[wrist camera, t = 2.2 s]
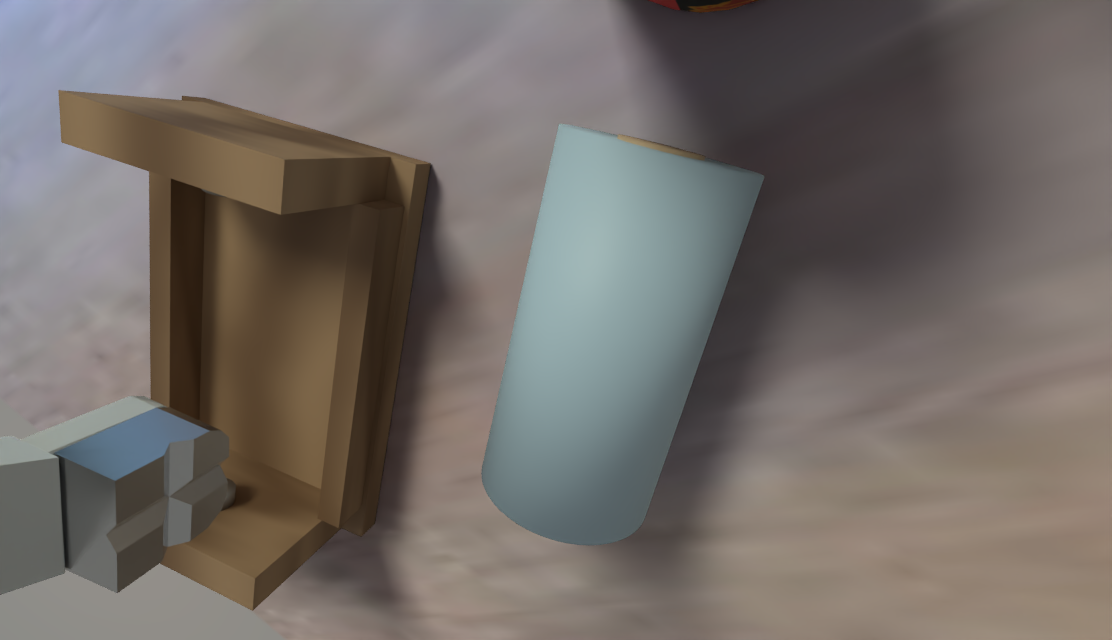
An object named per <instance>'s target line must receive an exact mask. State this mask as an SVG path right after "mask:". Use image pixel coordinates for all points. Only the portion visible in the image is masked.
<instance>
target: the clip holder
mask: <svg viewBox="0 0 1112 640" xmlns="http://www.w3.org/2000/svg"><path fill="white" fill-rule="evenodd" d="M59 106H60V124H61V142H62V143H65V144H68V145H71V146H74V147H77V148H80V149H84V150H87V151H90V152H93V153H96V154H99V155H102V156H105V157H108V158H111V159H114V160H117V161H120V162H123V163H126V164H129V165H132V166H135V167H138V168H141V169H144V170H147V171H149V211H150V360H151V400H153V401H156V402H158V403H160V404H162V405H164V406H166V407H171V408H173V409H175V410H177V411H179V412H182V413H184V414H186V415H188V416H191V417H193V418H195V419H197V420H199V421H202V422H204V423H206V424H208V425H211V426H213V427H215V428H217V429H219V430H221V431H222V432H224V433H225V434H226V435H227V436H228V437H229V457H228V458H227V459H226V460H225V461H224V462H223V463H222V464H221V465H220V466H221V468H222V470H223V473H224V475H225V477H226V479H227V481H228V484H227V496H226V498H225V501H224V504H223V507H222V509H221V511H220V513H219V514H218V515H217V516H216V518H215V519H214V520H213V522H212V523H211V524H210V526H209V527H208V528H207V529H206V530H204V531H203V532H202V533H200V534H199V535H198V536H196V537H195V538H194V539H192V540H191V541H189V542H185V543H181V544H177V545H173V546H169V547H167V550H166V553H165V556H164V558H163V561H162V562H161V563H160V564H162V565H164V566H166V567H168V568H170V569H172V570H174V571H176V572H178V573H180V574H182V575H184V576H186V577H188V578H190V579H192V580H194V581H196V582H197V583H199V584H201V585H203V586H205V587H207V588H209V589H211V590H213V591H215V592H217V593H219V594H221V595H223V596H225V597H227V598H229V599H231V600H233V601H235V602H237V603H239V604H240V605H242V606H245V607H246V608H248V609H250V610H252V611H253V610H254V609H255V608H256V607H257V606H258V605H259V604H260V603H261V602H262V601H263V600H265V599H266V598H267V597H268V596H269V595H270V594H271V593H272V592H273V591H274V590H275V589H276V588H277V587H279V586H280V585H281V584H282V583H283V582H284V581H285V580H286V579H287V578H288V577H289V576H290V575H291V574H293V573H294V572H295V571H296V570H297V569H298V568H299V567H300V566H301V565H302V564H303V563H304V562H305V561H307V560H308V559H309V558H310V557H311V556H312V555H313V554H314V553H315V552H316V551H317V550H318V549H319V548H320V547H322V546H323V545H324V544H325V543H326V542H327V541H328V540H329V539H330V538H331V537H332V536H333V535H334V534H336V533H337V532H338V531H339V530H340V529H341V528H343V529H345V530H347V531H349V532H351V533H354V534H356V535H358V536H360V537H362V536H363V535H364V534H365V533H366V532H367V531H368V530H369V529H370V528H371V527H372V526H373V525H374V524H375V519H376V512H377V506H378V499H379V493H380V486H381V480H382V474H383V467H384V461H385V454H386V448H387V441H388V435H389V429H390V422H391V416H392V409H393V403H394V396H395V390H396V383H397V377H398V371H399V364H400V358H401V351H402V345H403V338H404V332H405V326H406V319H407V313H408V306H409V300H410V293H411V287H412V281H413V274H414V268H415V261H416V255H417V248H418V242H419V236H420V229H421V223H422V216H423V210H424V203H425V197H426V191H427V184H428V178H429V171H430V165H431V163H427V162H424V161H420V160H417V159H413V158H410V157H406V156H403V155H400V154H396V153H393V152H389V151H386V150H382V149H379V148H375V147H372V146H368V145H365V144H362V143H358V142H355V141H351V140H348V139H344V138H341V137H337V136H334V135H331V134H327V133H324V132H320V131H317V130H313V129H310V128H306V127H303V126H299V125H296V124H293V123H289V122H286V121H282V120H279V119H275V118H272V117H268V116H265V115H262V114H258V113H255V112H251V111H248V110H244V109H241V108H237V107H234V106H230V105H227V104H224V103H220V102H217V101H213V100H210V99H206V98H199V97H188V96H182V100H171V99H159V98H147V97H134V96H122V95H110V94H98V93H86V92H74V91H62V90H59Z"/></svg>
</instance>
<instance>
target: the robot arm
mask: <svg viewBox="0 0 1112 640" xmlns="http://www.w3.org/2000/svg"><path fill="white" fill-rule="evenodd" d="M228 457H229V437H228V436H227V435H226V434H225V433H224V432H222V431H221V430H219V429H217V428H215V427H213V426H211V425H208V424H206V423H204V422H202V421H199V420H197V419H195V418H193V417H191V416H188V415H186V414H184V413H182V412H179V411H177V410H175V409H173V408H171V407H166V406H164V405H162V404H160V403H158V402H156V401H153V400H151V399H149V398H147V397H145V396H129V397H126V398H123V399H121V400H118V401H116V402H113V403H111V404H108V405H106V406H103V407H101V408H98V409H96V410H93V411H91V412H88V413H86V414H83V415H81V416H78V417H76V418H73V419H71V420H68V421H66V422H63V423H61V424H58V425H56V426H53V427H51V428H48V429H46V430H43V431H41V432H38V433H36V434H33V435H31V436H28V437H26V438H23V439H21V440H20V439H17V438H15V437H13V436H7V437H0V595H1V594H4V593H7V592H10V591H13V590H16V589H19V588H22V587H25V586H28V585H31V584H34V583H37V582H40V581H43V580H46V579H49V578H52V577H55V576H58V575H61V574H64V573H65V569H66V570H68V571H70V572H72V573H75V574H77V575H79V576H81V577H83V578H85V579H87V580H90V581H92V582H94V583H96V584H98V585H100V586H103V587H105V588H107V589H109V590H111V591H114V592H116V593H118V592H120V591H121V590H122V589H124V588H125V587H127V586H128V585H130V584H131V583H132V582H134V581H135V580H137V579H138V578H139V577H141V576H142V575H144V574H145V573H146V572H148V571H149V570H151V569H152V568H153V567H155V566H156V565H158V564H159V563H161V562H162V561H163V558H164V556H165V553H166V550H167V547H169V546H173V545H177V544H181V543H185V542H189V541H191V540H192V539H194V538H195V537H196V536H198V535H199V534H200V533H202V532H203V531H204V530H206V529H207V528H208V527H209V526H210V524H211V523H212V522H213V520H214V519H215V518H216V516H217V515H218V514H219V513H220V511H221V509H222V507H223V504H224V501H225V498H226V496H227V484H228V481H227V479H226V477H225V475H224V473H223V470H222V468H221V466H220V465H221V464H222V463H223V462H224V461H225V460H226V459H227V458H228Z"/></svg>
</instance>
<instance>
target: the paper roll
mask: <svg viewBox="0 0 1112 640" xmlns="http://www.w3.org/2000/svg"><path fill="white" fill-rule="evenodd" d="M764 177H765V176H764V175H761V174H759V173H756V172H753V171H750V170H747V169H744V168H740V167H737V166H734V165H730V164H727V163H723V162H720V161H716V160H713V159H709V158H705V156H703V155H700V154H696V153H693V152H690V151H686V150H682V149H679V148H675V147H671V146H667V145H663V144H659V143H655V142H651V141H647V140H643V139H639V138H634V137H630V136H625V135H619V134H618V135H614V134H610V133H606V132H601V131H597V130H592V129H587V128H583V127H578V126H572V125H567V124H559V127H558V131H557V136H556V140H555V145H554V149H553V154H552V158H551V162H550V167H549V171H548V176H547V180H546V185H545V189H544V194H543V198H542V203H541V207H540V211H539V216H538V220H537V225H536V229H535V234H534V238H533V243H532V247H531V252H530V256H529V260H528V265H527V269H526V274H525V278H524V283H523V287H522V292H521V296H520V301H519V305H518V309H517V314H516V318H515V323H514V327H513V332H512V336H511V341H510V345H509V350H508V354H507V358H506V363H505V367H504V372H503V376H502V381H501V385H500V390H499V394H498V399H497V403H496V407H495V412H494V416H493V421H492V425H491V430H490V434H489V439H488V443H487V448H486V452H485V456H484V461H483V465H482V473H481V474H482V482H483V485H484V488H485V490H486V492H487V494H488V496H489V497H490V499H491V500H492V502H493V503H494V504H495V505H496V506H497V507H498V509H499V510H500V511H501V512H503V513H504V514H505V515H506V516H507V517H508V518H510V519H511V520H513V521H514V522H515V523H517V524H518V525H520V526H522V527H524V528H525V529H527V530H529V531H531V532H534V533H536V534H538V535H540V536H543V537H546V538H549V539H552V540H556V541H560V542H564V543H570V544H576V545H602V544H608V543H613V542H616V541H620V540H622V539H624V538H626V537H628V536H630V535H631V534H633V533H634V532H636V530H637V529H638V528H639V527H640V526H641V525H642V523H643V521H644V519H645V516H646V514H647V511H648V508H649V505H650V502H651V499H652V496H653V494H654V491H655V488H656V485H657V482H658V479H659V476H660V474H661V471H662V468H663V465H664V462H665V459H666V456H667V454H668V451H669V448H670V445H671V442H672V439H673V436H674V434H675V431H676V428H677V425H678V422H679V419H680V417H681V414H682V411H683V408H684V405H685V402H686V399H687V397H688V394H689V391H690V388H691V385H692V382H693V379H694V377H695V374H696V371H697V368H698V365H699V362H700V359H701V357H702V354H703V351H704V348H705V345H706V342H707V339H708V337H709V334H710V331H711V328H712V325H713V322H714V319H715V317H716V314H717V311H718V308H719V305H720V302H721V300H722V297H723V294H724V291H725V288H726V285H727V282H728V280H729V277H730V274H731V271H732V268H733V265H734V262H735V260H736V257H737V254H738V251H739V248H740V245H741V242H742V240H743V237H744V234H745V231H746V228H747V225H748V222H749V220H750V217H751V214H752V211H753V208H754V205H755V202H756V200H757V197H758V194H759V191H760V188H761V185H762V183H763V180H764Z"/></svg>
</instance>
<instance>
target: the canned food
mask: <svg viewBox="0 0 1112 640" xmlns="http://www.w3.org/2000/svg"><path fill="white" fill-rule="evenodd" d="M648 1H651V2H654V3H657V4H660V5H663V6H665V7H668V8H671V9H674V10H683V11H692V12H700V13H702V12H712V11H721V10H730V9H733V8H736V7H739V6H743V5H746V4H749V3H752V2H755V1H758V0H648Z"/></svg>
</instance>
